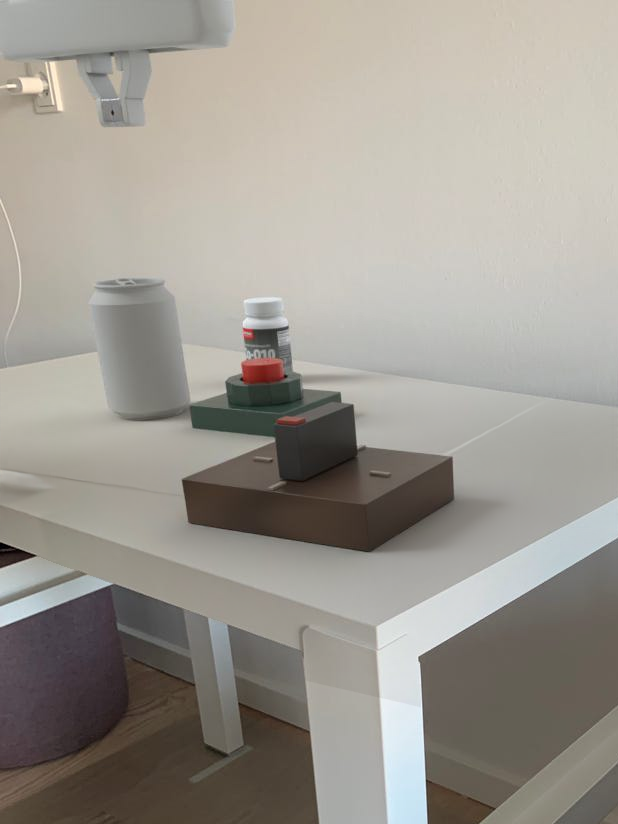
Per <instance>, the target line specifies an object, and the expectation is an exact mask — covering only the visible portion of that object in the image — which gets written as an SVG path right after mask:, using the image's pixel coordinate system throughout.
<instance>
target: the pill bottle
mask: <svg viewBox="0 0 618 824" xmlns="http://www.w3.org/2000/svg"><path fill="white" fill-rule="evenodd" d="M243 308H244V315H245V316H247V317H246V318H245V319H243V321H242V334H243V343H244V351H245V360H249V359H256V358H278V359H281V360H282V361H283V369H284V371H293V372H294V366H293V356H292V345H291V336H290V335H291V334H290V326H289V321H288V319H287V318H286V317H285V316H283V314H284V311H285V306H284V298H282V297H277V296H275V297H274V296H266V297H265V296H263V297H253V298H248V299H244V300H243Z"/></svg>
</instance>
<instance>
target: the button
mask: <svg viewBox="0 0 618 824" xmlns="http://www.w3.org/2000/svg"><path fill="white" fill-rule="evenodd" d="M240 366H241V374H242V375H243V382H251V383H258V382H272V381H279V380H282V379H285V378H284V369H283V361H282V360H281V359H278V358H256V359H249V360H246V359H245V360H243V361H241V363H240Z"/></svg>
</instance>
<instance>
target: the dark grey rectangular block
mask: <svg viewBox="0 0 618 824" xmlns="http://www.w3.org/2000/svg"><path fill="white" fill-rule="evenodd" d="M273 426H274V434H275V437H274V442H275V443H276V451H277V460H278V468H279V477H280V478H282V479H289V480H297V481H304V480H306V479H308V478H310V477H312V476H314V475H317V474H319V473H321V472H323V471H325V470H327V469H329V468H331V467H333V466H336V465H338V464H340V463H342V462H344V461H346V460H348V459H350V458H352V457H355V456H357V455H358V452H357V446H358V443H357V442H358V441H357V430H356V418H355V404H353V403H347V402H342V403H337V402H330V403H328V404H325V405H322V406H320V407H317V408H315V409H312V410H309V411H307V412H304V413H301V414H299V415H296V416H293V417H290V416H285V417H282V418H280V419H277V423H275V424H274V425H273Z"/></svg>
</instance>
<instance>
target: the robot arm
mask: <svg viewBox="0 0 618 824" xmlns="http://www.w3.org/2000/svg"><path fill="white" fill-rule="evenodd" d="M234 1H235V0H0V56H1V57H2V58H3V59H4V60H5V61H8V62H17V63H30V64H41V63H53V62H64V61H65V62H66V61H76V69H77V73H78V75H79V77H80V79H81V80H82V82H83V84H84V85H85V87H86V89H87V90H88V92H89V94H90V96H91V97H92V98H93V100H94V101H95V103H96V104H95V105H96V110H97V111H96V112H97V116H98V122H99V125H101V127H102V128H128V127H129V128H131V127H134V128H135V127H144V126H145V125H146V122H147V120H146V119H147V118H146V113H145V105H144V104H145V103H144V99H145V97H146V94H147V90H148V86H149V83H150V79H151V77H152V72H153V71H152V70H153V69H152V63H151V57H150V56H151V55H150V54H161V53H173V52H183V51H184V52H185V51H186V52H187V51H196V50H197V51H198V50H210V49H223V48H227V47H228V46H230V45H229V44H230V43H231V40H232V38H233V36H234V33H235V30H236V11H235V2H234ZM112 57H113V58H114V65H115V69H116V70H117V71H118V72H122V74H121V81H120V85H119V91H118V93H117V90H116V89H115V87H114V85H113V83H112V81H111V79H110V77H109V76H108V75H113V74H114V67H113V60H112Z"/></svg>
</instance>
